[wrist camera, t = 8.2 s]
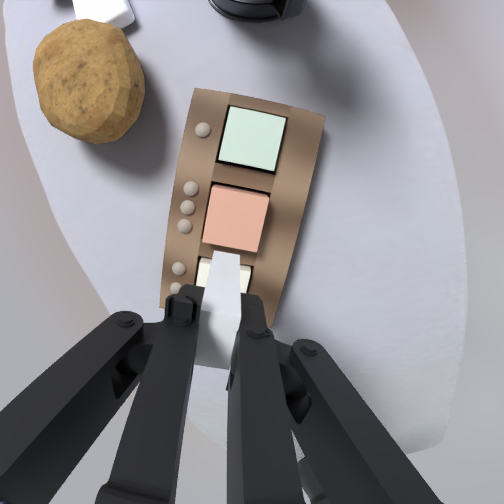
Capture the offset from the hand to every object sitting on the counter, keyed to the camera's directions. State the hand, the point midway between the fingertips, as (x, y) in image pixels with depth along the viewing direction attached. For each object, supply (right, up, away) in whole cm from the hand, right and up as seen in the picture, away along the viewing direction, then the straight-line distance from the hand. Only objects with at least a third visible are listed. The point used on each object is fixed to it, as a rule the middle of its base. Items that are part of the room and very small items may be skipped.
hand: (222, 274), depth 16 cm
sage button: (+2, +11, +7) cm, 13 cm away
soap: (-14, +27, +1) cm, 31 cm away
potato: (-12, +17, +5) cm, 22 cm away
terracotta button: (0, +5, +8) cm, 9 cm away
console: (0, +5, +9) cm, 10 cm away
